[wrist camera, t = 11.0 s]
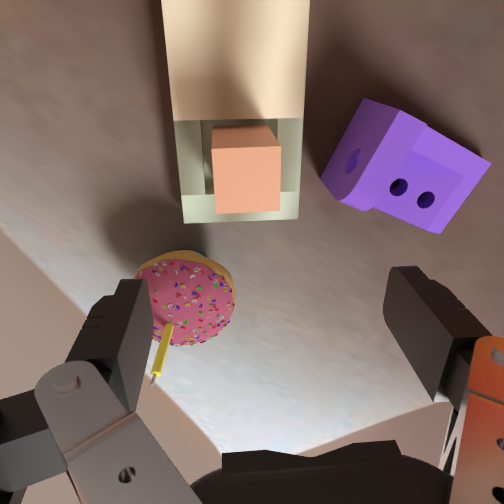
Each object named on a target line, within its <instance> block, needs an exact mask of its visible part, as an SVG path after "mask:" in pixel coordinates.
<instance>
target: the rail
mask: <svg viewBox="0 0 504 504" xmlns="http://www.w3.org/2000/svg"><path fill="white" fill-rule="evenodd" d="M161 2H162V12H163V22H164V32H165V41H166V51H167V61H168V71H169V81H170V90H171V100H172V110H173V120H174V130H175V139H176V149H177V159H178V169H179V178H180V188H181V198H182V208H183V218H184V223H209V222H234V221H258V220H283V219H298V207H299V188H300V170H301V152H302V133H303V115H304V96H305V78H306V60H307V41H308V23H309V4H310V0H161ZM261 124H267V125H268V127H269V128H270V130H271V131H272V133H273V134H274V136H275V137H276V139H277V140H278V142H279V144H280V145H281V187H280V211H267V212H247V213H227V214H216V207H215V193H214V179H213V165H212V151H211V147H212V128H213V126H234V125H261Z"/></svg>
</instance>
